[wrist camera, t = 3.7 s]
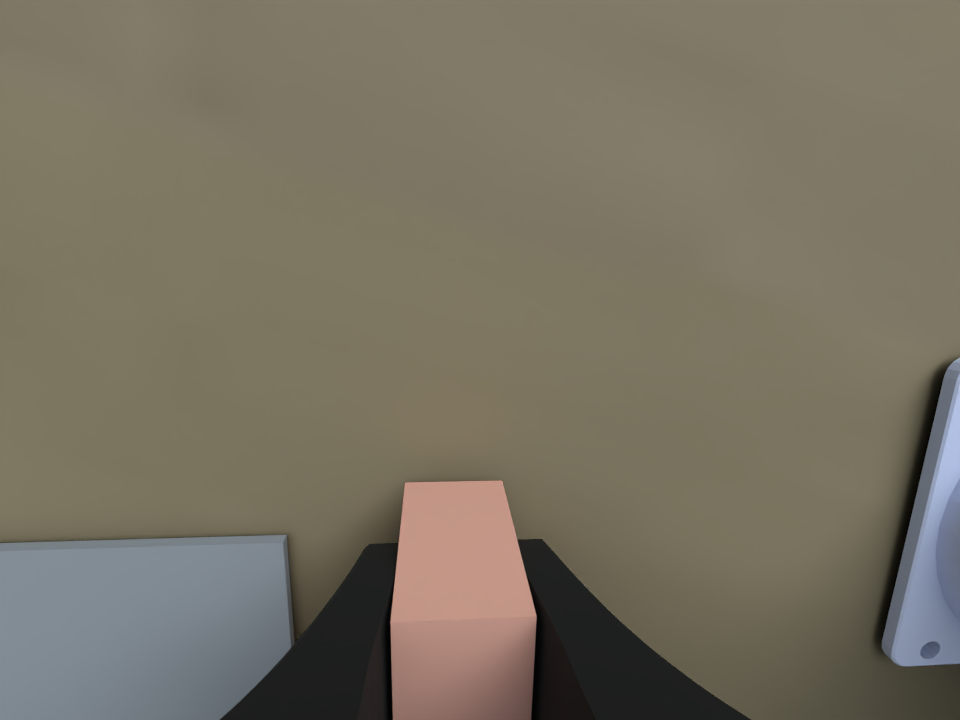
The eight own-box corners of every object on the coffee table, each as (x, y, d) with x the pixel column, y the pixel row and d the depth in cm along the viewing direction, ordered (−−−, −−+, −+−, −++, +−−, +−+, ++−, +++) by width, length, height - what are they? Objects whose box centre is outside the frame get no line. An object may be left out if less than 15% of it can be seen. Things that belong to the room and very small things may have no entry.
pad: (286, 534, 12) (283, 542, 12) (307, 818, 14) (304, 831, 14) (-64, 545, 11) (-78, 553, 11) (9, 840, 13) (0, 854, 13)
